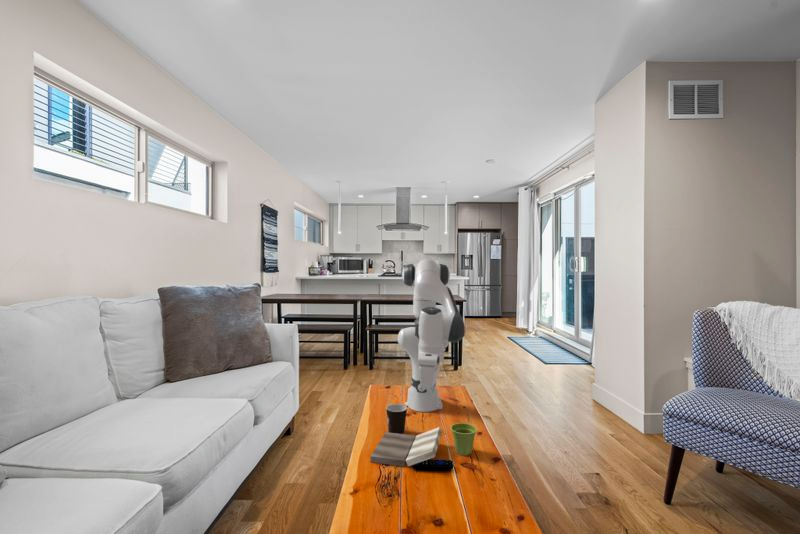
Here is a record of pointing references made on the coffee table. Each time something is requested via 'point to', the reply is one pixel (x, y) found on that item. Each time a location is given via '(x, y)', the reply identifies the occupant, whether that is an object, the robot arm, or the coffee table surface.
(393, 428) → the coffee mug
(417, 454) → the ash plank
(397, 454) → the grey brown flat block
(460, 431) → the plant pot
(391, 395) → the coffee table surface
